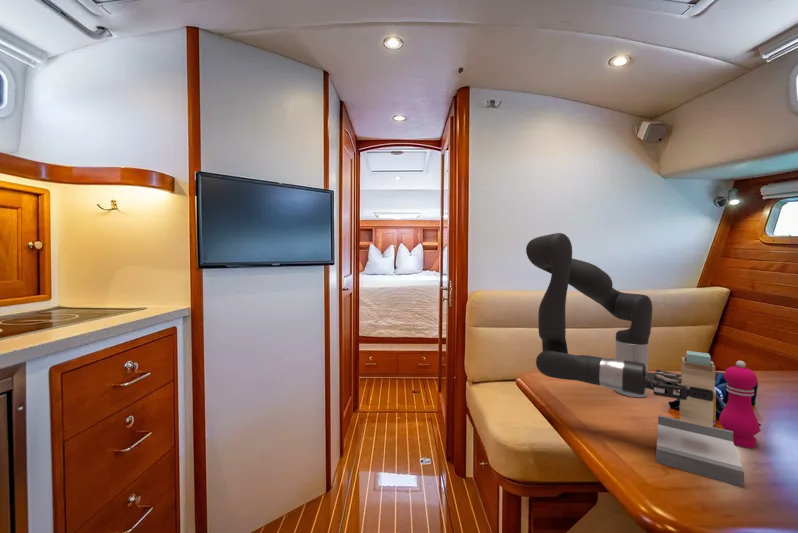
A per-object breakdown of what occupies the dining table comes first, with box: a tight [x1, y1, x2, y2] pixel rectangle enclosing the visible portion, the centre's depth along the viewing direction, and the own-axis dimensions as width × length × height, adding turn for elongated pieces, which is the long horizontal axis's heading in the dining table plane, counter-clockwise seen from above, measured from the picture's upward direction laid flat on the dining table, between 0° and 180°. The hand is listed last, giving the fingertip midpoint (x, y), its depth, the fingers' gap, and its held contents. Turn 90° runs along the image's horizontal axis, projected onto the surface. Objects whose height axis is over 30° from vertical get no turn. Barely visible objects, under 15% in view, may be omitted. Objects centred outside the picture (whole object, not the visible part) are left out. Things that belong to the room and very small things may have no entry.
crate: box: [679, 356, 716, 428], centre depth 81 cm, size 6×6×13 cm
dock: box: [655, 414, 745, 488], centre depth 81 cm, size 16×14×5 cm
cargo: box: [685, 350, 712, 366], centre depth 81 cm, size 4×4×3 cm
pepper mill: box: [718, 360, 761, 449], centre depth 89 cm, size 7×7×20 cm
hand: (711, 391), depth 80 cm, fingers closed on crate, 5 cm apart
